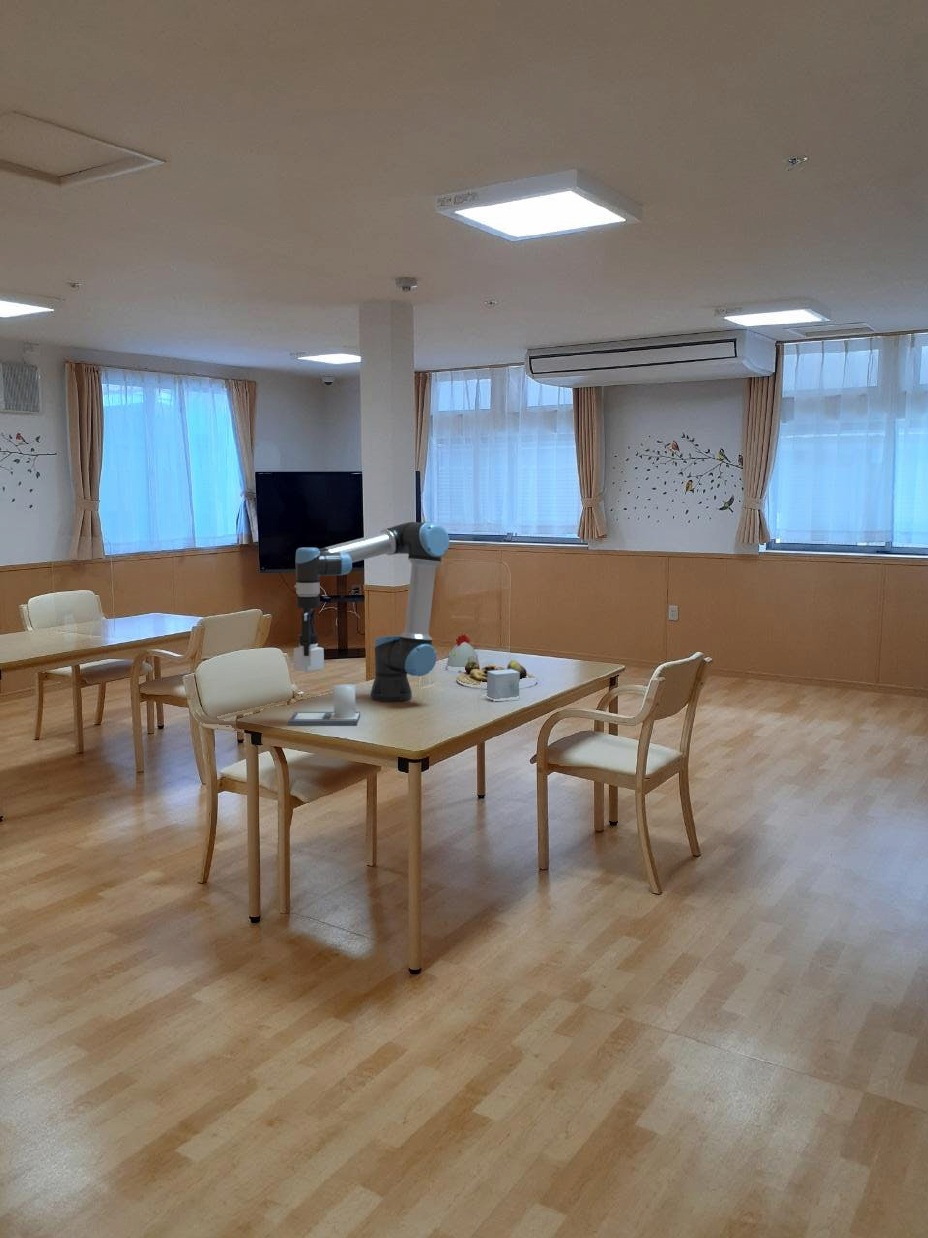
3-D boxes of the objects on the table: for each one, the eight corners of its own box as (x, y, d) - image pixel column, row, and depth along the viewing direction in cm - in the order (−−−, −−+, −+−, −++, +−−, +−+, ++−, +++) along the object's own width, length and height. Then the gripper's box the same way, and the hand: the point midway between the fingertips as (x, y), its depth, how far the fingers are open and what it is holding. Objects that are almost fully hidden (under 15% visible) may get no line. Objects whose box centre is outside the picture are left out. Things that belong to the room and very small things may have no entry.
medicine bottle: (324, 669, 334) (323, 633, 332) (307, 672, 328) (306, 635, 327) (310, 666, 338) (309, 631, 337) (293, 669, 333) (292, 633, 332)
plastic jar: (356, 713, 339) (356, 684, 338) (354, 718, 332) (354, 688, 331) (335, 713, 339) (335, 684, 338) (332, 718, 332) (332, 687, 331)
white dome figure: (440, 669, 431) (440, 634, 429) (461, 665, 442) (461, 631, 440) (465, 673, 422) (465, 638, 420) (486, 669, 433) (486, 634, 431)
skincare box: (494, 702, 366) (494, 673, 364) (486, 699, 372) (486, 670, 370) (520, 700, 370) (520, 671, 369) (511, 696, 376) (511, 668, 375)
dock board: (360, 716, 343) (360, 711, 343) (356, 725, 329) (356, 720, 329) (294, 716, 342) (294, 711, 342) (288, 725, 329) (288, 720, 328)
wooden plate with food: (440, 681, 408) (440, 660, 406) (503, 671, 426) (503, 652, 425) (489, 695, 382) (489, 674, 381) (553, 685, 401) (553, 665, 399)
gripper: (301, 591, 341) (302, 657, 344) (291, 598, 319) (292, 668, 322) (323, 591, 341) (324, 657, 344) (315, 598, 319) (316, 668, 322)
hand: (309, 662), depth 333 cm, fingers closed on medicine bottle, 10 cm apart
